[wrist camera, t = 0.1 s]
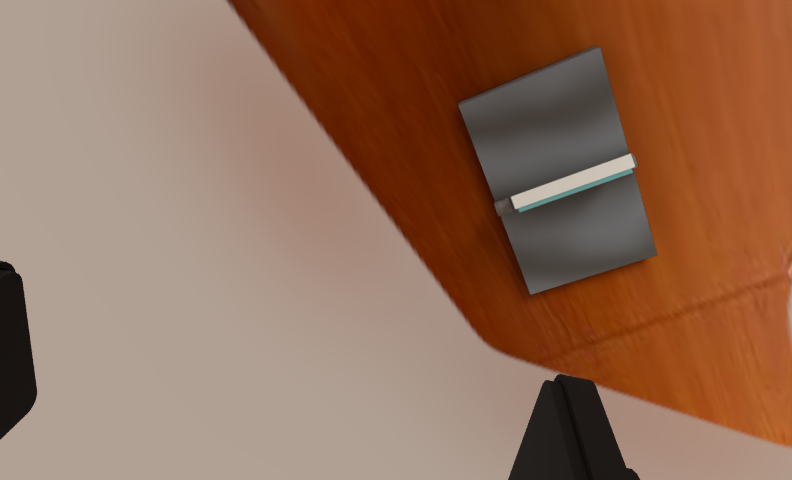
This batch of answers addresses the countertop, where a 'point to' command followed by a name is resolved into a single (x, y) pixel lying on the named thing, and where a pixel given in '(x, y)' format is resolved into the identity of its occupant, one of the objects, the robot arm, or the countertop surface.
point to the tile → (574, 183)
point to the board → (559, 170)
